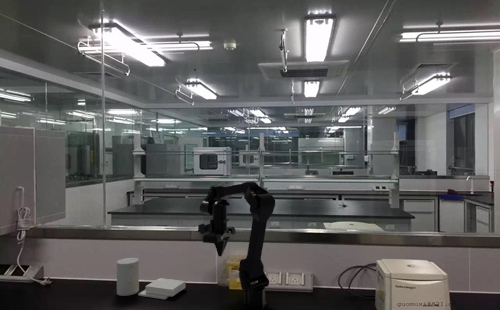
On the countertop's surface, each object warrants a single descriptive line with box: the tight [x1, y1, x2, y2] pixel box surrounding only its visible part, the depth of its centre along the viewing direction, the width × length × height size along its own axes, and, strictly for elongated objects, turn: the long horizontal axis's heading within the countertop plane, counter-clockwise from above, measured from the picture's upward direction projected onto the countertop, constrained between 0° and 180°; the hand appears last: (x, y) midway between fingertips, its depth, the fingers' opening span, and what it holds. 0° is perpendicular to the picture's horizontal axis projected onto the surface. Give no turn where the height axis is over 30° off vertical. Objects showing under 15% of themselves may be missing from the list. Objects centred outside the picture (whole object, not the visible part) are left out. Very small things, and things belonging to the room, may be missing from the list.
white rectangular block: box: [145, 277, 186, 297], centre depth 124 cm, size 3×9×12 cm
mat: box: [137, 289, 170, 300], centre depth 124 cm, size 12×10×1 cm
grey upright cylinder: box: [116, 257, 140, 297], centre depth 126 cm, size 8×8×12 cm
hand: (220, 256), depth 126 cm, fingers closed
